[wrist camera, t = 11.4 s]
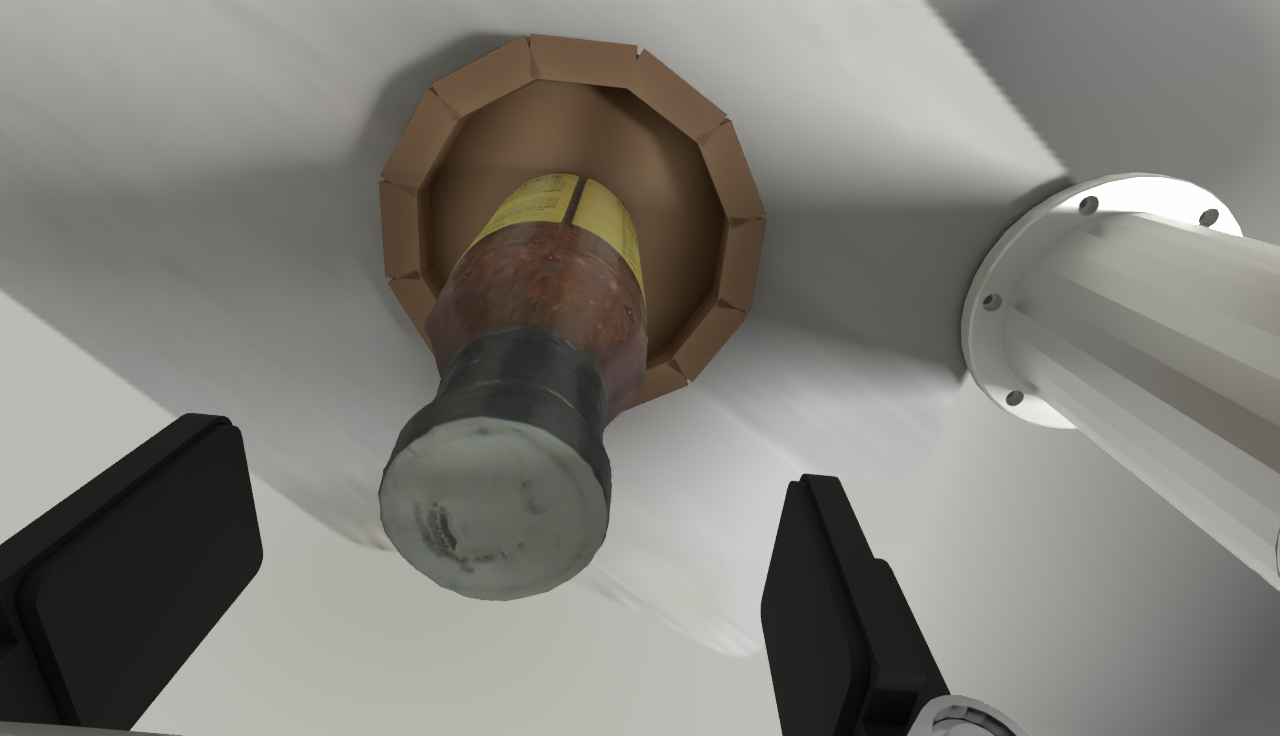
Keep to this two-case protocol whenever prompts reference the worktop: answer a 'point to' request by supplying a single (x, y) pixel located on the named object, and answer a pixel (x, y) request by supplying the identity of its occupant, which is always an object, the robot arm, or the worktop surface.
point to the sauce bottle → (523, 396)
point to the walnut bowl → (605, 152)
